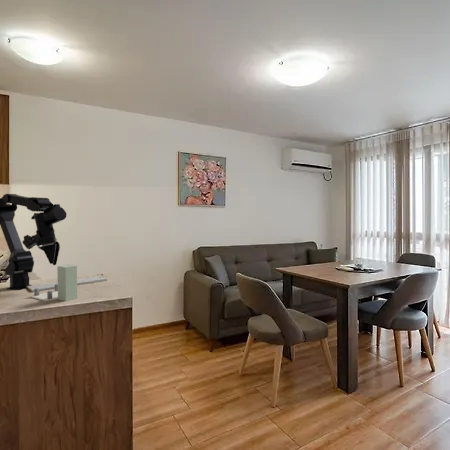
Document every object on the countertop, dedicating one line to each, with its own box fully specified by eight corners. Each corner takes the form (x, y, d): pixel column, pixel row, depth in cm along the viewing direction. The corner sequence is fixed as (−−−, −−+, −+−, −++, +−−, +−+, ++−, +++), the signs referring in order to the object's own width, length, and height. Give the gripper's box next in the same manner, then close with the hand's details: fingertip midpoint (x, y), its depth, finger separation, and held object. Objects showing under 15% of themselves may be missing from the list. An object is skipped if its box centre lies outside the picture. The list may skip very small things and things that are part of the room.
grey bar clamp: (25, 288, 133) (32, 293, 124) (25, 281, 133) (32, 286, 124) (97, 278, 154) (107, 281, 146) (97, 272, 154) (107, 275, 146)
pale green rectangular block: (58, 299, 114) (57, 266, 114) (69, 296, 118) (68, 264, 118) (66, 301, 112) (65, 267, 111) (77, 298, 116) (76, 265, 115)
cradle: (30, 297, 116) (30, 289, 116) (60, 290, 127) (60, 283, 127) (45, 301, 111) (45, 293, 111) (75, 293, 122) (75, 286, 122)
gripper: (26, 234, 129) (34, 270, 128) (16, 227, 112) (25, 268, 111) (56, 229, 133) (64, 263, 132) (50, 221, 117) (59, 260, 115)
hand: (53, 264), depth 122 cm, fingers open, 9 cm apart
